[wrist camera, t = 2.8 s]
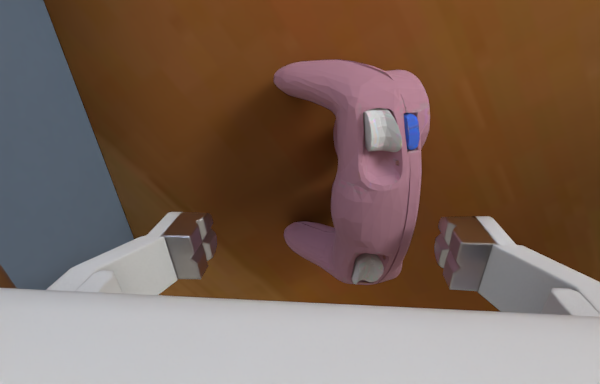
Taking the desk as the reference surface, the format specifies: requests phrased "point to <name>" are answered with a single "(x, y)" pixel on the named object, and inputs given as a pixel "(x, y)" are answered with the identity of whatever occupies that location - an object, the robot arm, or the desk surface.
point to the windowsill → (47, 159)
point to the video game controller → (364, 166)
